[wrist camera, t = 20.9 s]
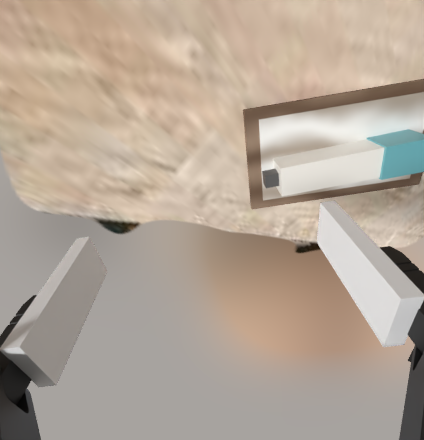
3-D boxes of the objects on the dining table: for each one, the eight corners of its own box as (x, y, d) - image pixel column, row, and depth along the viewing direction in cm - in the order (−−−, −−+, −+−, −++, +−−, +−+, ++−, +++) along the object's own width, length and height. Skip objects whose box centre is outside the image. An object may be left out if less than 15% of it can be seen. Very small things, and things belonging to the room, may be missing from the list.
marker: (259, 159, 39) (266, 171, 35) (408, 129, 37) (434, 137, 33) (262, 187, 41) (269, 201, 37) (402, 160, 40) (425, 171, 36)
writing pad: (243, 109, 36) (244, 110, 35) (447, 74, 34) (454, 75, 34) (251, 206, 44) (251, 209, 43) (415, 182, 43) (419, 184, 42)
